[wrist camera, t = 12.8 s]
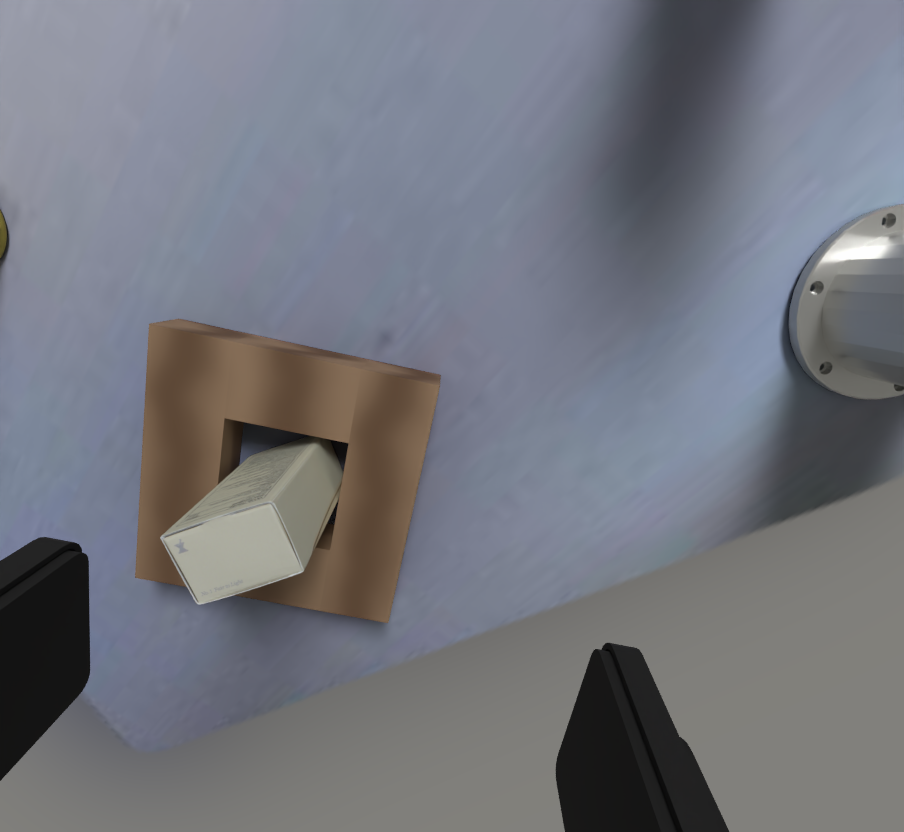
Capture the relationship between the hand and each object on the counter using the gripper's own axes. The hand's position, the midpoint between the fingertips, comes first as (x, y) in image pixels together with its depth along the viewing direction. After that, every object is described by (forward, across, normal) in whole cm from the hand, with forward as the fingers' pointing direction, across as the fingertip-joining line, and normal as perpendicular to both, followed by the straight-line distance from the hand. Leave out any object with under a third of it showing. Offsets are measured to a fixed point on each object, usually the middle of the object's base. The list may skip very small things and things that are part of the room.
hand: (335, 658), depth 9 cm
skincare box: (+26, +8, +9) cm, 29 cm away
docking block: (+26, +9, +9) cm, 29 cm away
